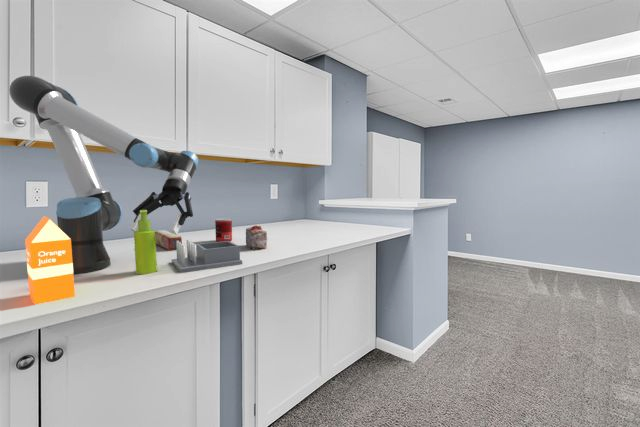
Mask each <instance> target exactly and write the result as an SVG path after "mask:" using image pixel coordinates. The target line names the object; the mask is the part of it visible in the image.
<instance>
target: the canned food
mask: <svg viewBox="0 0 640 427" xmlns="http://www.w3.org/2000/svg"><path fill="white" fill-rule="evenodd" d="M214 223H215V242H223V241H230V242H232V241H233V222H232V218H230V217H229V218H228V217H226V218H225V217H222V218H221V217H219V218H215V221H214Z"/></svg>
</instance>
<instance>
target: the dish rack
mask: <svg viewBox="0 0 640 427" xmlns="http://www.w3.org/2000/svg"><path fill="white" fill-rule="evenodd" d="M185 247H186V248H185ZM240 248H241V247H240V245H238V244H237V243H235V242H232V241H223V242H216V241H214V242H205V243H194V242H192V241H191V240H190V239H187V240H186V246H185V244H183V243H182V244H181V242H179V241H176V249H177V250H176V258H172V259H171V264H172V265H173V266H174V267H175V269H176V270H177V271H178V272H179V273H180V274H182V273H183V274H184V273H191V272H198V271H204V270H210V269H218V268H224V267H232V266H239V265H243V260H242V259H241V257H240V256H241V252H240V250H241V249H240ZM186 255H187V256H186Z"/></svg>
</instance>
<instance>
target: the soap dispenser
mask: <svg viewBox="0 0 640 427" xmlns="http://www.w3.org/2000/svg"><path fill="white" fill-rule="evenodd" d="M140 214H141V219H140V220H139V221H138V230H139V231H136V232H133V237H134V238H133V240H134V256H135V257H134V258H135V260H134V261H135V274H137V275H147V274H154V273H156V272H157V271H158V268H157V262H158V261H157V246H156V245H157V244H156V240H155V232H156V230H152V229H151V220H150V219H149V218H148V215H147V210H140Z"/></svg>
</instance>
